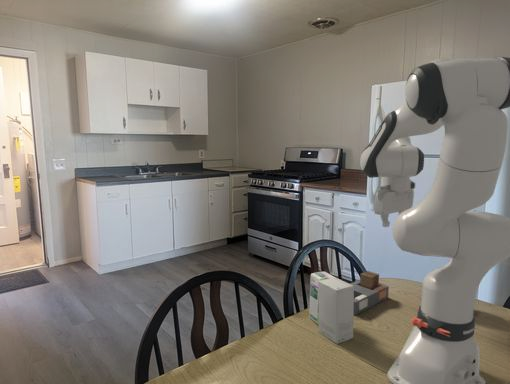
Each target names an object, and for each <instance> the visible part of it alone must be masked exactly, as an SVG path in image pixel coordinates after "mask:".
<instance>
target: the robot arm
mask: <svg viewBox="0 0 510 384" xmlns="http://www.w3.org/2000/svg"><path fill="white" fill-rule="evenodd" d="M404 92H405V100H404V101H403V103H402V104H401V105H400V106H398V107H397V108H396V109H394V110H392V111H391V112H389V113H387V115H386V116H385V117H384V119H383V120H382V122H381V124H380V125H379V126H378V128H377V130H376V132H375V134H374V136H373V138H371V140H370V142H369V143H368V145H367V146H366V147H365V148H364V149H363V150H362V152H361V155H360V160H359V165H360V170H361V172H362V173H363V174H364V175H365V176H367V177H368V178H370V179H372V178H381V181H380V182H381V184H380V187H379V189H378V190H377V192H376V193H375V197H374V205H373V212H374V214H375V215H378V216H380V219H381V221H382V225H381V226H382V227H384V228H389V227H390V224H391V222H390V220H389V216H390V214H394V213H397V217H395V218H396V219H394V222H393V226H392V236H393V239H394V242H395V244H396V246H397V247H398V248H399V249H400V250H401V251H403V252H407V253H411V254H413V255H417V256H418V255H419V256H422V257H438V258H449V259H450V260H449V261H448V262H447V263H446V264H444V265H443V266H441V267H439V268H435V269H433V270H430V271H429V272H428V273H427V274H426V275H425V276H424V278H423V279H422V282H421V283H422V284H421V298H420V299H421V300H420V305H419V307H418V310H417V313H416V316H414V317H413V318H412V320H411V325H412V326H413V327H412V329H411V331H410V333H409V335H408V337H407V339H406V341H405V343H404V345H403V347H402V350H401V351H400V353H399V354H398V356H397V357H396V359H395V360H394V362H393V363H392V365H391V366H390V368H389V369H388V371H387V374H386V375H387V376H386V377H387V378H388V380H389V381H390V382H391V383H392V384H486V383H487V382H486V380H485V378H483V377H482V376H481V375H480V361H481V360H480V353H481V352H480V350H481V349H480V347H479V345H478V344H477V342H476V340H475V338H474V333H475V329H476V322H475V321H476V319H475V317H474V311H475V303H476V298H477V293H478V289H479V286H480V284H481V282H482V280H483V278H484V277H485V276H486V275H487V274H488V273H489V272H490V270H491V269H493V268H494V267H495V266H496V265H498V264H500V263H501V262H503V261H505V260H507V259H509V258H510V217H509V216H505V215H502V214H501V215H500V214H497V213H492V212H487V211H476V210H475V209H477V208H479V207H481V206H483V205H485V204H486V203H487V202H488V201H489V200H490V199H492V197H493V195H494V193H495V190H496V186H497V183H498V179H499V176H500V174H501V173H500V172H501V169H502V165H503V161H504V158H505V154H506V149H507V143H508V134H509V133H508V131H509V130H508V125H509V120H508V116H507V115H506V113H505V112H504V111H503V110H505V109H507V108H510V57H506V56H496V57H491V58H490V57H489V58H488V57H480V58H477V57H475V58H466V57H463V58H457V59H456V58H455V59H451V58H445V57H444V58H443V57H442V58H436V59H434V60H432V61H430V62H428V63H424V64H422V65H419V66H417V67H415V68H413V69H412V70H411V71H410V73H409V74H408V77H407V79H406V84H405V91H404ZM442 127H444V137H443V141H442V144H441V149H440V154H439V159H438V163H437V168H436V173H435V176H434V180H433V182H432V185H431V188H430V189H429V191H428V192H427V194H426V195H425V196H424V197H423V198H422V199H421V200H420V201H419V202H417V203H416V204H415V205H414V206H413V204H414V198H415V196H414V195H415V192H414V191H415V190H414V189H416V182H414V181H412V180H411V177H416V176H418V175H419V174H420V173H421V172H422V171H423V170H424V165H425V164H424V163H425V154H424V152H423V151H422V150H421V149H420V148H419V147H417V146H414V145H413V144H412V143H411V142H412V141H411V137H414V136H422V135H428V134H432V133H434V132H436V131H438V130H439V129H441V128H442ZM471 210H472V211H471ZM474 210H475V211H474Z"/></svg>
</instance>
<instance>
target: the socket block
mask: <svg viewBox="0 0 510 384" xmlns="http://www.w3.org/2000/svg"><path fill="white" fill-rule="evenodd" d="M349 284H351V285H353V286H354V313H353V314H354V316H355V317H356V316H357V315H360V314H361V313H363V312H365V311H367V310H369V309H371V308H372V307H375V306H377V305H379V304H380V303H382V302H384V301H385V300H388V299H389V291H390V290H389V287H390V286H389V285H386V284H383V283H381V282H379V286H378V287H377V288H375V289H374V290H371V289H368V288H365V287H362V286H360V279H357V280H355V281H353V282H351V283H349ZM354 316H353V317H354Z"/></svg>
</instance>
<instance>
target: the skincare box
mask: <svg viewBox="0 0 510 384" xmlns="http://www.w3.org/2000/svg"><path fill="white" fill-rule="evenodd" d="M353 313H354V286H353V285H351V284H350V283H348V282H346V281H343V280H342V279H339V278H338V277H336V276H333V278H329V279H326V280H321V281H318V321H319V325H318V332H319V333H320V334H322V335H323V336H325V337H326V338H328V340H330V341H331V342H333V343H334V344H336V345H337V344H341V343H344V342H348V341H349V340H352V339H353V338H354V314H353Z"/></svg>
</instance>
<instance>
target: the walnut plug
mask: <svg viewBox="0 0 510 384" xmlns="http://www.w3.org/2000/svg"><path fill="white" fill-rule="evenodd" d="M359 277H360V278H359V280H360V286H362V287H365V288H368V289H371V290H374V289H375V288H377V287H378V286H379V283H380V282H379V281H380V274H379V273H376V272H373V271H370V270H367V271H364V272H362V273H360V276H359Z"/></svg>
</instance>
